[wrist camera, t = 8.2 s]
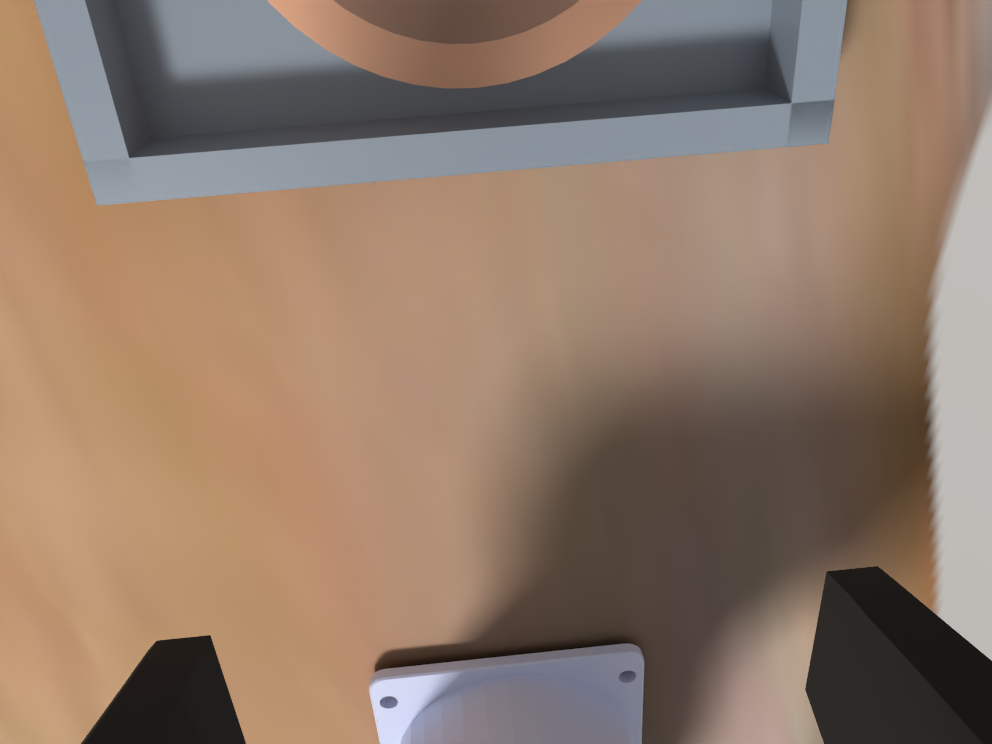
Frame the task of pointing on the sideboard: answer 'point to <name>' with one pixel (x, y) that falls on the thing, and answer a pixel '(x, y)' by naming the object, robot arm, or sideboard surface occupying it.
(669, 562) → the sideboard surface
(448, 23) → the cup
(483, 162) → the tray
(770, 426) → the sideboard surface
